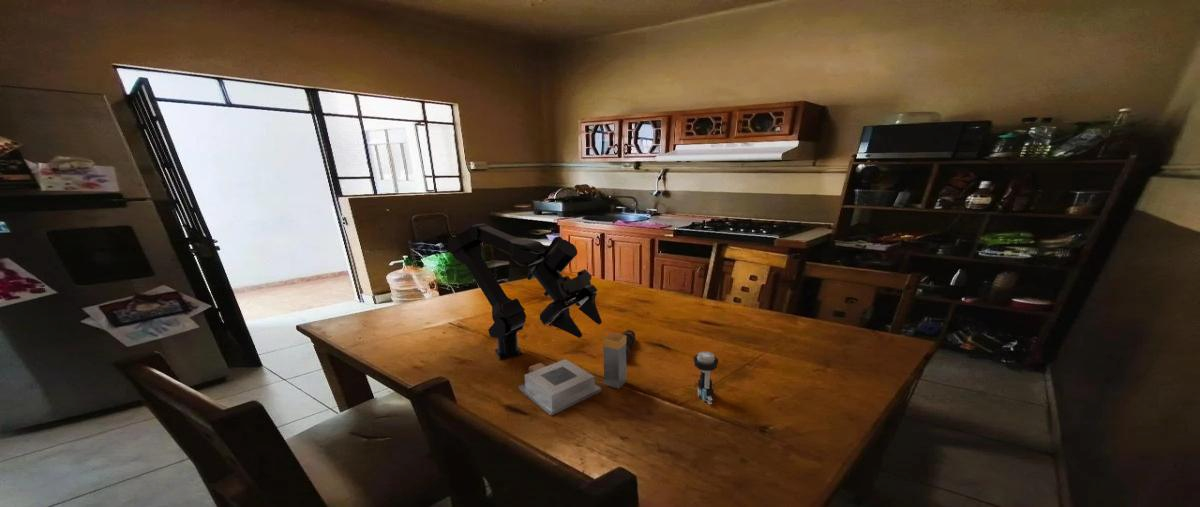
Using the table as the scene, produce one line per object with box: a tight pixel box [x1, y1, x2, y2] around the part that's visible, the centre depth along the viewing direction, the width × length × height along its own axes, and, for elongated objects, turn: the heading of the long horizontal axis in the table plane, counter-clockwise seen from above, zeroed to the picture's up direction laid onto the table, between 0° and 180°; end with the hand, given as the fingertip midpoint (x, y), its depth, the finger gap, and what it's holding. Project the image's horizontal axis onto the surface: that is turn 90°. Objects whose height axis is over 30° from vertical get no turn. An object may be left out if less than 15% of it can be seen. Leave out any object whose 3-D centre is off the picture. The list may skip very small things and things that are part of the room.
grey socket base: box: [518, 358, 602, 417], centre depth 92 cm, size 18×14×4 cm
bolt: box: [622, 329, 637, 363], centre depth 110 cm, size 6×5×15 cm
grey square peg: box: [602, 332, 627, 389], centre depth 92 cm, size 4×4×12 cm
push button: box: [692, 351, 719, 405], centre depth 85 cm, size 7×5×10 cm
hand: (591, 329), depth 94 cm, fingers open, 9 cm apart
